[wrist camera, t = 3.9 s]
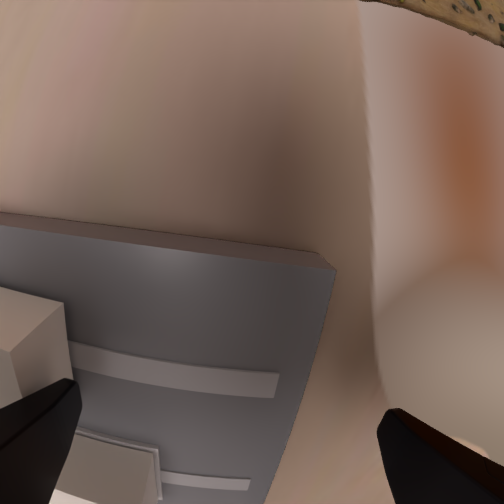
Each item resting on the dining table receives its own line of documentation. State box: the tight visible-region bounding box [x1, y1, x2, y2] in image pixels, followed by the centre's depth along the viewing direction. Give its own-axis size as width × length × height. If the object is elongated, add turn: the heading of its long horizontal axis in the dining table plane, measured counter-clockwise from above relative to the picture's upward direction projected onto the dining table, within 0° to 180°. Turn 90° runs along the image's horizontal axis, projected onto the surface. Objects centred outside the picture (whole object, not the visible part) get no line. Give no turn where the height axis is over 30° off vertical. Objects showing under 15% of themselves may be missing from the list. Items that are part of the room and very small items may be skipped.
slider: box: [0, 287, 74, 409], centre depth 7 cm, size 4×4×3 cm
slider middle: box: [49, 434, 158, 504], centre depth 8 cm, size 4×4×3 cm
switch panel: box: [0, 212, 336, 504], centre depth 11 cm, size 20×20×2 cm
